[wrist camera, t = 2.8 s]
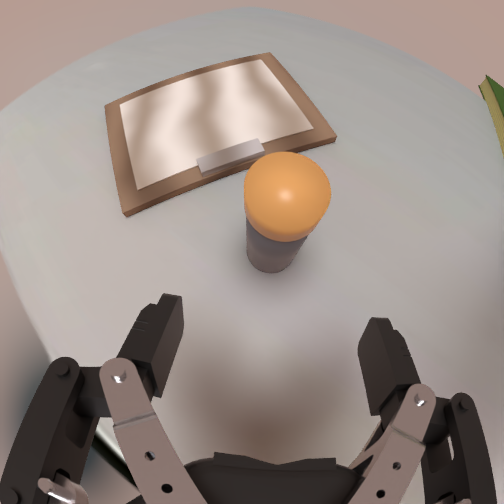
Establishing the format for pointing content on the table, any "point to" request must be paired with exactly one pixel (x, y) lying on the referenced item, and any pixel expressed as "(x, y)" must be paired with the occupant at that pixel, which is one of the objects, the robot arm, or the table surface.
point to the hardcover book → (495, 105)
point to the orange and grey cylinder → (282, 207)
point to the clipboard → (207, 128)
